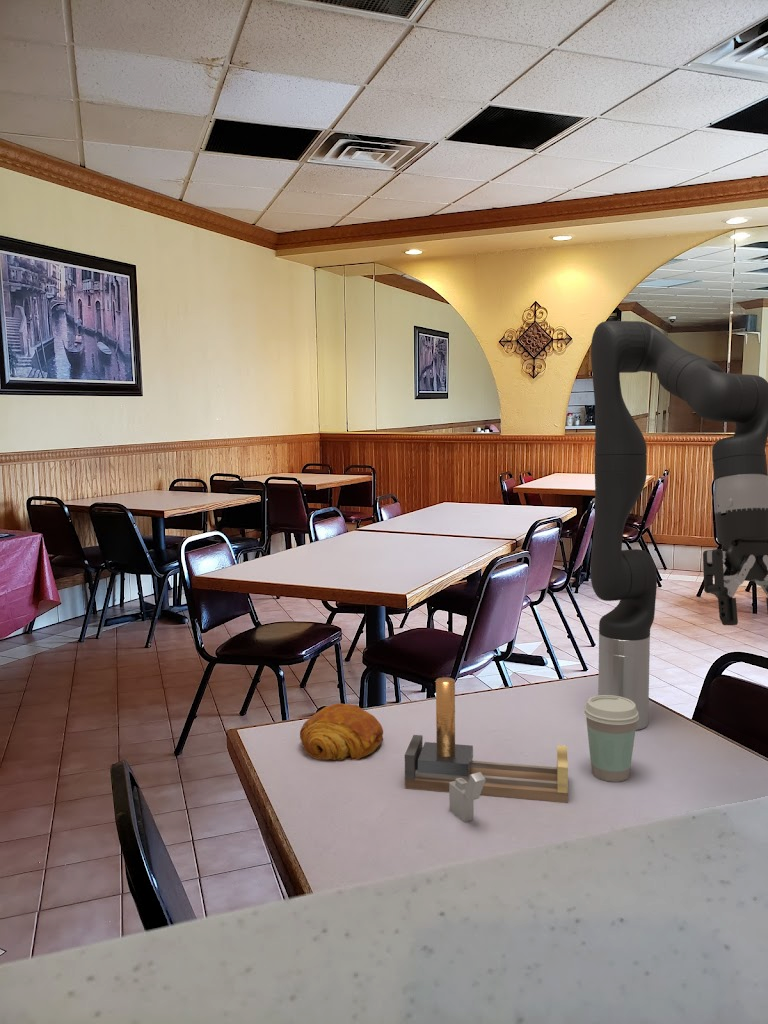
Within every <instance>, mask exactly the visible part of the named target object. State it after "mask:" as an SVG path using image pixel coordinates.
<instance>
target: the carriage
mask: <svg viewBox="0 0 768 1024" xmlns="http://www.w3.org/2000/svg"><path fill="white" fill-rule="evenodd" d="M435 710H436V711H435V715H436V717H435V718H436V719H435V723H436V729H435V730H436V731H435V733H436V736H435V737H436V742H431V741H430V742H429V741H424V744H423V748H422V751H421V753H420V756H419V758H418V772H421V773H433V774H445V775H457V776H469V772H470V768H471V764H472V761H474V745H472V744H471V745H469V744H457V743H456V681H455V679H454V678H452V677H448V676H447V677H445V676H444V677H443V676H442V677H438V678H436V679H435Z"/></svg>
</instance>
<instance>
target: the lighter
mask: <svg viewBox="0 0 768 1024" xmlns="http://www.w3.org/2000/svg"><path fill="white" fill-rule="evenodd" d="M485 780H486V779H485V778H484V776H483V775H482V773H481V772H478V773H474V774H472V775H471V776H470V779H469V782H467V781H465V780H464V779H463V778H456V779H455V781H452V782H450V783H449V792H448V793H449V794H448V795H449V811H450V812H451V813H452V814H453V815H455V816H456V818H458V819H459V820H461V821H462V822H463V823H467V822H470V821H473V820H475V817H474V816H475V815H474V813H475V812H474V811H475V810H474V807H475V805H474V804H475V802H474V801H475V800H478V799H479V798H480V797H481V795H480V794H481V791H482V789H483V786H484V783H485Z"/></svg>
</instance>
